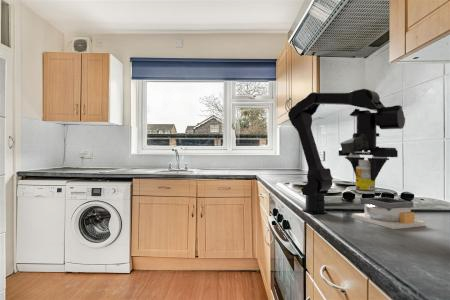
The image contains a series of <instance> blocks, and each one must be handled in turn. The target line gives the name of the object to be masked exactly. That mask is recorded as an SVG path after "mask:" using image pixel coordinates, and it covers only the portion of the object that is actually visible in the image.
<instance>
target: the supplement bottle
mask: <svg viewBox="0 0 450 300" xmlns="http://www.w3.org/2000/svg"><path fill="white" fill-rule="evenodd" d="M355 192H356V193H359V194H367V195H368V194H369V195H371V194H375V193H376V180H375V181H371V168H370V162H369V160H368V159H364V160H359V166H357V167H356V175H355Z"/></svg>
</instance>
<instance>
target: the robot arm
mask: <svg viewBox="0 0 450 300" xmlns="http://www.w3.org/2000/svg"><path fill="white" fill-rule="evenodd" d="M321 105H336V106H337V105H341V106H342V105H343V106H344V105H345V106H346V105H347V106H352V107H357V108H355V109H354V110H353V111H351V113H350V114H349V116H350V117H355V118H356V131H355V132H354V133H353V134H352V138H349V139H346V140H344V141H341V142H340V148H339V149H338V156H339V157H342V156H343V157H344V159H346V160H347V161H349V162H350V164H351V167H352V170H353V172H354V176H356V167H357V166H359V160H365V157H364V156H372V157H367V159H366V160H369V162H370V168H371V181H375V182H376V179H377V177H378V175H379V173H380V172H381V170H382V168H383V167H384V165H385V164H386V162H387V161H390V158H398V156H399V155H398V154H399V151H398V150H397V148H396V147H380V146H377V138H378V137H380V133H379V132H377V127H378V128H379V129H380V130H401V129H404V127H405V124H406V117H405V114H404V111H403V106H402V105H401V104H399V105H398V104H397V105H392V106H385V105H384V104H383V103H382V101H381V100H380V95H379V93H378V92H376V91H373V90H371V89H367V88H360V89H355V90H351V91H349V92H315V91H314V92H310V93H309V94H307V95H306V96H305V97H304V98H303V99H301V100H300V101H298V102H297V103H296V104H295V105H293V106H292V107H291V108H290V109H289V110H288V115H287V116H288V119H289V121H290V124H291V126H293V128H294V129H295V130H296V131H297V134H298V138H299V140H300V143H301V147H302V151H303V153H304V154H303V155H304V158H305V161H306V164H307V169H308V170H307V174H306V178H307V179H306V180H307V183H305V184H304V186H303V187H301V193H302V195H303V196H305V208H303V209H301V211H303V212H306V213H307V214H311V215H319V214H328V211H327V210H325V205H326V204H325V196H326V195H328V193H329V190H330V189H331V188H332V186H333V180H334V177H333V176H332V173H331V169H330V168H328V167H327V168H326V167H324V165H323V163H322V161H321V157H320V155H319V151H318V147H317V144H316V140H315V138H314V134H313V130H312V125H313V124H312V123H313V117H312V116H313V115H315V114H316V113H317V110H318V108H319V107H320V106H321ZM359 108H363V110H360V109H359ZM364 109H365V110H364ZM371 111H375V112H371ZM362 156H363V157H362Z"/></svg>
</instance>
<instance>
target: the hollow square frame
mask: <svg viewBox="0 0 450 300" xmlns="http://www.w3.org/2000/svg"><path fill="white" fill-rule="evenodd" d="M361 201H362V204H364V212H363V213H364V216H365V217H367V218H370V219H373V220H378V221H385V222H400V223H404V224H407V223H414V219H415V212H414V211H413V212H412V208H414V202H413V201H409V200H404V199H403V200H402V199H397V198H391V197H387V196H385V197H367V198H365V197H364V198H362V199H361Z"/></svg>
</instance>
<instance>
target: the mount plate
mask: <svg viewBox="0 0 450 300" xmlns="http://www.w3.org/2000/svg"><path fill="white" fill-rule="evenodd" d="M351 218H353V219H357V220H360V221H363V222H366V223H371V224H374V225H377V226H380V227H381V226H382V227H385V228H388V229H392V230H398V229H399V230H400V229H407V228H408V229H409V228H418V227H425V226H426V222H425V221H423V220H419V219H415V218H414V223H407V224H404V223H400V222H385V221H378V220H373V219H370V218H367V217H365V216H364V212H362V213H361V212H360V213H359V212H358V213H352V214H351Z"/></svg>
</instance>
